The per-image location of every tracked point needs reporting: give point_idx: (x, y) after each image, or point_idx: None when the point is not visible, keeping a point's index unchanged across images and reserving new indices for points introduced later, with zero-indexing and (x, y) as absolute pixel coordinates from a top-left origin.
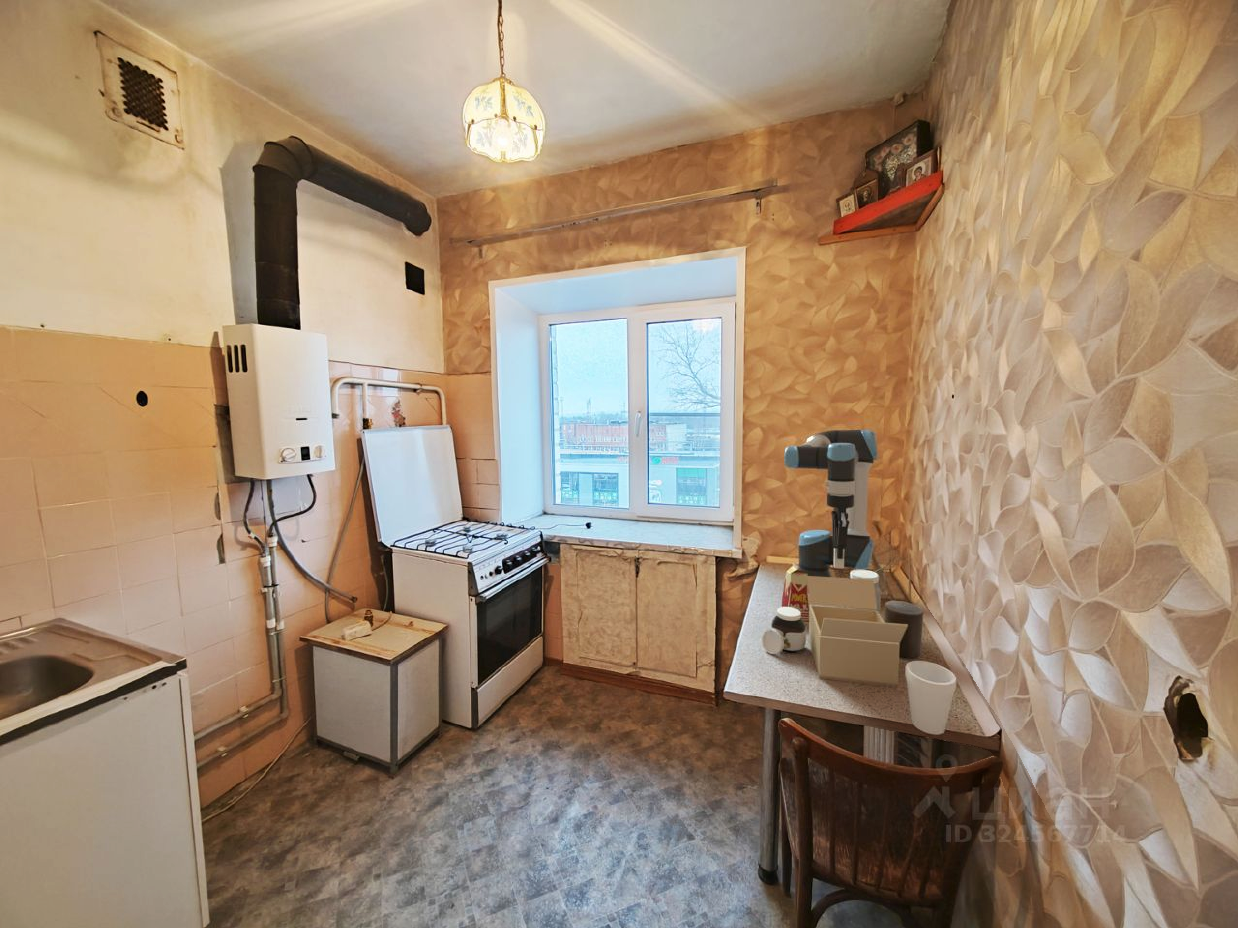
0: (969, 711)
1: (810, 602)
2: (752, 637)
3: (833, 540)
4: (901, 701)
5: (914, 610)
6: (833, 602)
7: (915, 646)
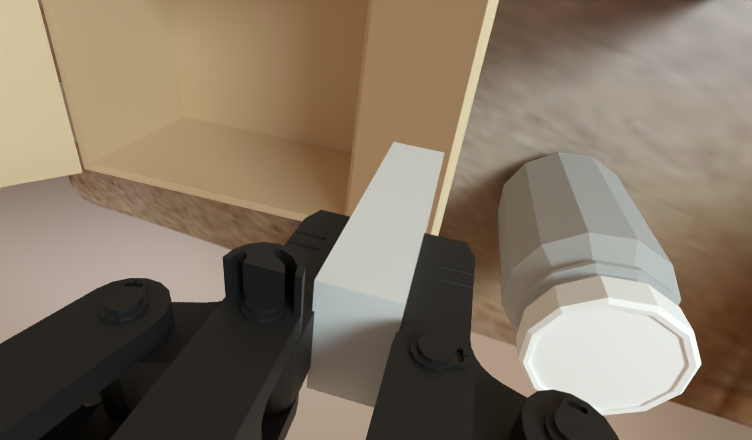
0: (142, 218)
1: None
2: None
3: (523, 425)
4: None
5: None
6: (375, 46)
7: None
